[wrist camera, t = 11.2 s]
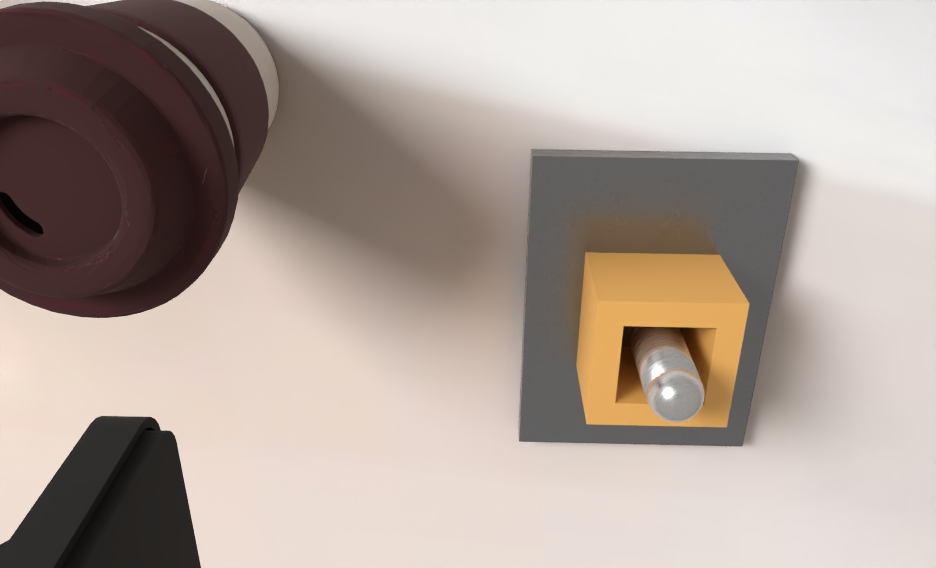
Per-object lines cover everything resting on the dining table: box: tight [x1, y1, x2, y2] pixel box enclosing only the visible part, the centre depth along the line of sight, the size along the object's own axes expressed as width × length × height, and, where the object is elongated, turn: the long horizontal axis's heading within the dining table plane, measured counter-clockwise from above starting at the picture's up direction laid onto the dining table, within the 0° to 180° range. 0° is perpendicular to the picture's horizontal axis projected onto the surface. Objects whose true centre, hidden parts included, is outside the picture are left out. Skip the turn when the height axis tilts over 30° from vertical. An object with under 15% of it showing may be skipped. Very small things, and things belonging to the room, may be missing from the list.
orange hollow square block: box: [576, 252, 749, 427], centre depth 38 cm, size 6×6×5 cm
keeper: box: [519, 149, 799, 446], centre depth 37 cm, size 16×12×9 cm
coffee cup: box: [0, 0, 279, 318], centre depth 30 cm, size 10×10×15 cm
